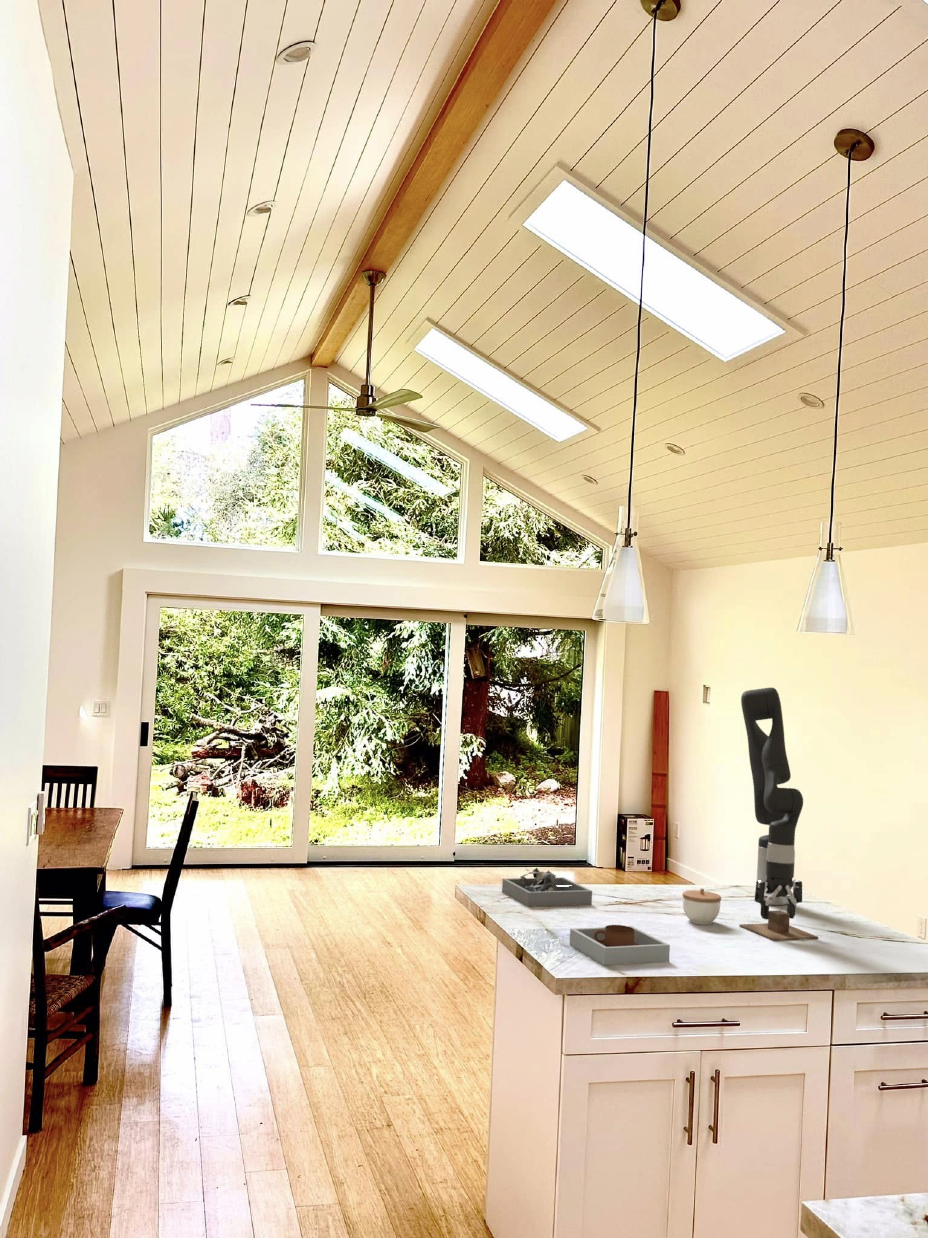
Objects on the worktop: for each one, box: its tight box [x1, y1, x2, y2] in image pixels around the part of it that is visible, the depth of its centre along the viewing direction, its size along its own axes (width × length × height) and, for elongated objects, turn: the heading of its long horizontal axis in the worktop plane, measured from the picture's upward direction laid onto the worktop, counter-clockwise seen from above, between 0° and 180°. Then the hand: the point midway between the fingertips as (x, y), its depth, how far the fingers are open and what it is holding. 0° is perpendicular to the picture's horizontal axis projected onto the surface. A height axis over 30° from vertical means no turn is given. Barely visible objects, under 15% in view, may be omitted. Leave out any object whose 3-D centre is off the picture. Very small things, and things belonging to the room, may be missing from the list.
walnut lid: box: [738, 910, 819, 942], centre depth 290 cm, size 15×15×6 cm
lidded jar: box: [682, 887, 722, 926], centre depth 297 cm, size 11×11×9 cm
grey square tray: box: [569, 925, 671, 966], centre depth 259 cm, size 18×18×4 cm
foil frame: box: [501, 876, 593, 907], centre depth 316 cm, size 21×19×4 cm
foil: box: [519, 867, 557, 892], centre depth 317 cm, size 12×11×15 cm
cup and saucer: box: [594, 924, 639, 947], centre depth 259 cm, size 12×12×6 cm
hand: (777, 918), depth 290 cm, fingers open, 8 cm apart
